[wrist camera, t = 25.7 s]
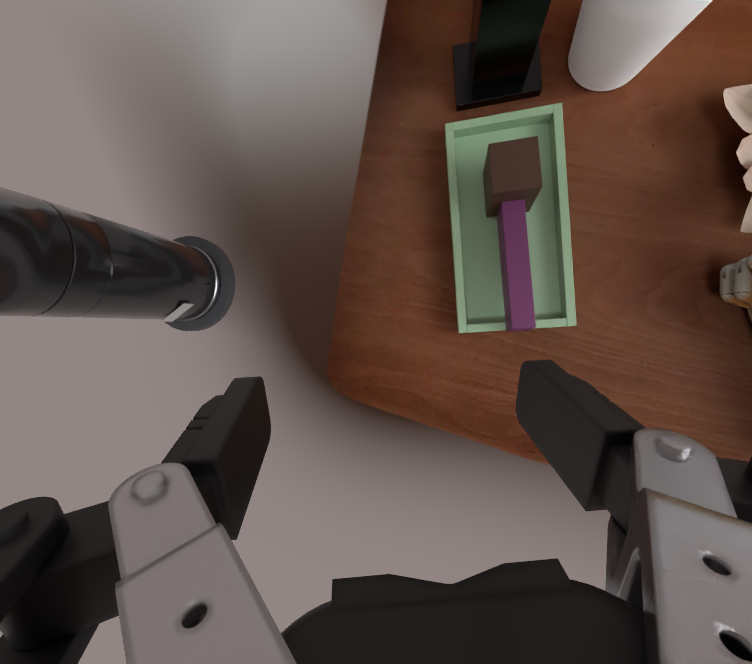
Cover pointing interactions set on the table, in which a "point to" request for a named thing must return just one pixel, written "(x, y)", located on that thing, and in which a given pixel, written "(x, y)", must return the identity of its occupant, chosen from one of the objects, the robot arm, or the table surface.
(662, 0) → the cup
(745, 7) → the table surface
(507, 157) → the hammer
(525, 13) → the stand
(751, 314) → the mannequin hand
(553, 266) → the tray
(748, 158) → the decorative flower
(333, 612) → the robot arm
